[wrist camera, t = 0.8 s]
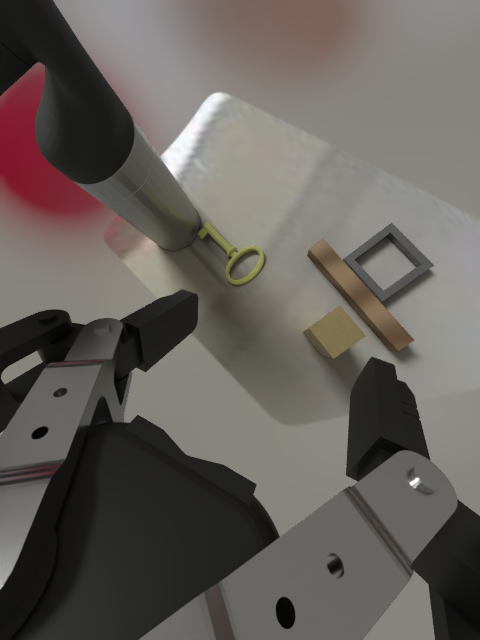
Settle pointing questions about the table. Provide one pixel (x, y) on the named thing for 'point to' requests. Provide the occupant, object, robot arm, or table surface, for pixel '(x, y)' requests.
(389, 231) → the keeper
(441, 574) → the robot arm
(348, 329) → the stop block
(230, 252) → the key
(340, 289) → the brown square bar
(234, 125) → the table surface
